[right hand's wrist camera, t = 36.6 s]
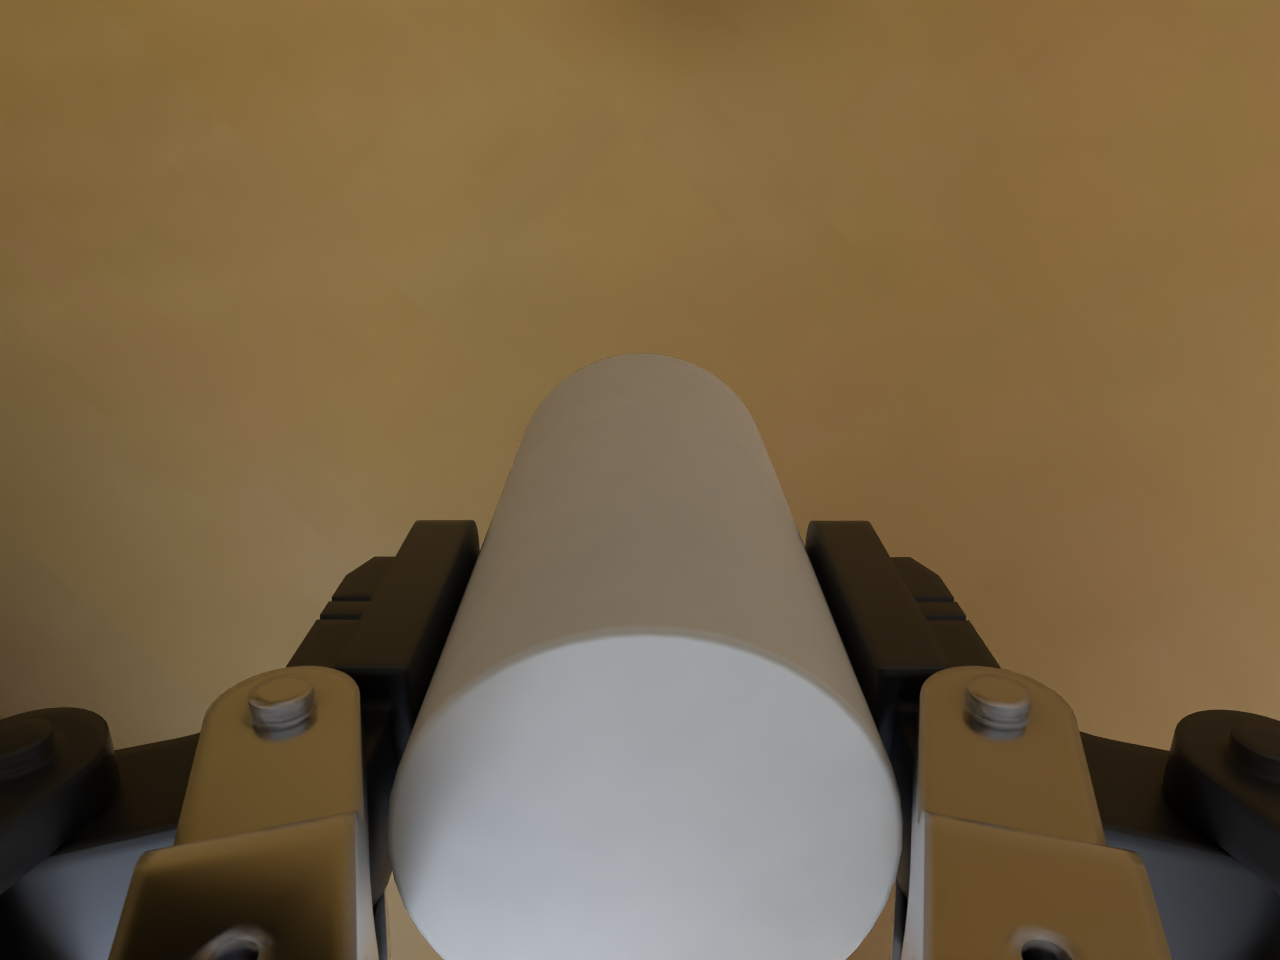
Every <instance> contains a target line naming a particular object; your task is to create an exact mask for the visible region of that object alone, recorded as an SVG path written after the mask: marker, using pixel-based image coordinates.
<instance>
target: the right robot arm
mask: <svg viewBox="0 0 1280 960" xmlns="http://www.w3.org/2000/svg"><path fill="white" fill-rule="evenodd" d="M805 549H806V551H807V554H808V556H809V559H810V561H811V564H812V566H813V569H814V572H815V574H816V577H817V579H818V582H819V584H820V587H821V589H822V592H823V594H824V597H825V599H826V602H827V604H828V607H829V609H830V612H831V614H832V617H833V619H834V622H835V624H836V627H837V629H838V632H839V634H840V637H841V639H842V642H843V644H844V647H845V649H846V652H847V655H848V657H849V660H850V662H851V665H852V667H853V670H854V672H855V675H856V677H857V680H858V682H859V685H860V687H861V690H862V692H863V695H864V697H865V700H866V702H867V705H868V707H869V710H870V712H871V715H872V717H873V720H874V722H875V725H876V727H877V730H878V733H879V735H880V738H881V740H882V743H883V745H884V748H885V750H886V753H887V755H888V758H889V760H890V763H891V765H892V768H893V771H894V775H895V778H896V781H897V785H898V788H899V792H900V797H901V805H902V813H903V843H902V852H901V856H900V861H899V866H898V871H897V876H896V883H895V891H894V899H893V906H892V916H891V935H890V954H889V960H1280V721H1278V720H1275V719H1271V718H1268V717H1265V716H1261V715H1256V714H1252V713H1247V712H1240V711H1232V710H1207V711H1200V712H1196V713H1193V714H1190V715H1188V716H1186V717H1184V718H1183V719H1182V720H1181V721H1180V722H1179V723H1178V724H1177V727H1176V729H1175V733H1174V737H1173V740H1172V744H1171V748H1170V751H1167V750H1161V749H1156V748H1151V747H1146V746H1141V745H1136V744H1131V743H1125V742H1120V741H1115V740H1110V739H1106V738H1101V737H1097V736H1093V735H1090V734H1087V733H1083V732H1080V731H1079V728H1078V724H1077V720H1076V717H1075V714H1074V712H1073V710H1072V709H1071V707H1070V706H1069V704H1068V703H1067V702H1066V701H1065V700H1064V699H1063V698H1062V697H1061V696H1060V695H1058V694H1057V693H1056V692H1054V691H1053V690H1052V689H1050V688H1048V687H1047V686H1045V685H1043V684H1042V683H1040V682H1038V681H1036V680H1033V679H1031V678H1029V677H1026V676H1024V675H1021V674H1018V673H1015V672H1011V671H1008V670H1004V669H1001V668H1000V666H999V665H998V663H997V662H996V660H995V659H994V657H993V656H992V654H991V653H990V651H989V650H988V648H987V647H986V645H985V644H984V642H983V641H982V639H981V638H980V636H979V635H978V633H977V632H976V630H975V629H974V627H973V626H972V624H971V623H970V621H969V620H966V615H965V614H964V612H963V611H962V609H961V608H960V606H959V605H958V603H957V602H954V597H953V596H952V594H951V593H950V591H949V590H948V588H947V587H946V585H945V584H944V582H943V581H942V579H941V578H940V576H938V575H937V574H935V573H934V572H932V571H931V570H929V569H928V568H926V567H925V566H923V565H922V564H920V563H918V562H917V561H915V560H914V559H912V558H911V557H890V556H889V555H888V553H887V551H886V549H885V548H884V546H883V544H882V543H881V541H880V539H879V537H878V536H877V534H876V532H875V531H874V529H873V527H872V525H871V524H870V522H868V521H811V522H810V523H809V526H808V530H807V535H806V545H805ZM479 553H480V550H479V537H478V531H477V526H476V523H475V521H474V520H417V521H416V522H415V523H414V525H413V527H412V528H411V530H410V532H409V534H408V535H407V537H406V539H405V541H404V542H403V544H402V546H401V548H400V549H399V551H398V553H397V555H396V556H395V557H373V558H372V559H370V560H369V561H367V562H366V563H364V564H363V565H361V566H360V567H358V568H357V569H355V570H354V571H352V572H350V573H349V574H347V575H346V576H345V578H344V579H343V581H342V582H341V584H340V585H339V587H338V588H337V590H336V591H335V593H334V594H333V596H332V601H329V602H328V604H327V605H326V607H325V608H324V610H323V611H322V613H321V614H320V620H316V622H315V623H314V625H313V626H312V628H311V629H310V631H309V633H308V634H307V636H306V637H305V639H304V640H303V642H302V643H301V645H300V646H299V648H298V649H297V651H296V652H295V654H294V655H293V657H292V658H291V660H290V661H289V663H288V664H287V666H286V668H281V669H276V670H272V671H269V672H265V673H262V674H259V675H256V676H254V677H251V678H249V679H247V680H244V681H242V682H240V683H238V684H237V685H235V686H233V687H232V688H230V689H228V690H227V691H226V692H224V693H223V694H222V695H220V696H219V697H218V698H217V699H216V700H215V701H214V702H213V703H212V704H211V706H210V707H209V709H208V710H207V712H206V714H205V717H204V720H203V724H202V728H201V732H200V733H197V734H194V735H190V736H185V737H181V738H176V739H171V740H166V741H161V742H156V743H151V744H146V745H140V746H135V747H130V748H125V749H120V750H115V751H114V748H113V744H112V740H111V736H110V732H109V728H108V726H107V723H106V721H105V720H104V719H103V718H102V717H101V716H100V715H98V714H96V713H94V712H92V711H89V710H85V709H79V708H64V707H61V708H47V709H41V710H35V711H30V712H26V713H22V714H17V715H14V716H11V717H8V718H5V719H2V720H0V960H391V954H390V935H389V916H388V906H387V899H386V891H385V889H386V886H387V884H388V881H389V878H390V875H391V872H392V866H391V861H390V857H389V852H388V840H387V816H388V807H389V799H390V793H391V790H392V787H393V783H394V780H395V776H396V773H397V769H398V767H399V764H400V761H401V759H402V756H403V753H404V751H405V748H406V746H407V743H408V740H409V738H410V735H411V732H412V730H413V727H414V724H415V722H416V719H417V716H418V714H419V711H420V709H421V706H422V703H423V701H424V698H425V695H426V693H427V690H428V687H429V685H430V682H431V679H432V677H433V674H434V672H435V669H436V666H437V664H438V661H439V658H440V656H441V653H442V650H443V648H444V645H445V642H446V640H447V637H448V635H449V632H450V629H451V627H452V624H453V621H454V619H455V616H456V613H457V611H458V608H459V605H460V603H461V600H462V598H463V595H464V592H465V590H466V587H467V584H468V582H469V579H470V576H471V574H472V571H473V568H474V566H475V563H476V561H477V558H478V555H479Z"/></svg>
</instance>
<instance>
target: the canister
mask: <svg viewBox="0 0 1280 960" xmlns="http://www.w3.org/2000/svg"><path fill="white" fill-rule="evenodd" d="M387 840H388V852H389V857H390V861H391V866H392V870H393V875H394V880H395V883H396V885H397V888H398V890H399V893H400V896H401V898H402V901H403V903H404V906H405V907H406V909H407V911H408V913H409V914H410V916H411V918H412V920H413V921H414V923H415V925H416V927H417V928H418V930H419V931H420V932H421V934H422V935H423V936H424V937H425V939H426V940H427V941H428V943H429V944H430V945H431V946H432V948H433V949H434V950H435V951H436V952H437V953H438V954H439V955H440V956H441V957H442V958H443V959H444V960H845V959H846V958H847V957H848V956H849V955H850V954H851V953H852V952H853V951H854V950H855V949H856V948H857V947H858V946H859V945H860V943H861V942H862V941H863V939H864V938H865V937H866V935H867V934H868V933H869V932H870V930H871V929H872V928H873V926H874V924H875V923H876V921H877V919H878V917H879V916H880V914H881V912H882V910H883V908H884V907H885V905H886V903H887V900H888V898H889V895H890V893H891V890H892V887H893V885H894V882H895V879H896V876H897V871H898V866H899V861H900V856H901V852H902V843H903V813H902V805H901V797H900V792H899V788H898V785H897V781H896V778H895V775H894V771H893V768H892V765H891V763H890V760H889V758H888V755H887V753H886V750H885V748H884V745H883V743H882V740H881V738H880V735H879V733H878V730H877V727H876V725H875V722H874V720H873V717H872V715H871V712H870V710H869V707H868V705H867V702H866V700H865V697H864V695H863V692H862V690H861V687H860V685H859V682H858V680H857V677H856V675H855V672H854V670H853V667H852V665H851V662H850V660H849V657H848V655H847V652H846V649H845V647H844V644H843V642H842V639H841V637H840V634H839V632H838V629H837V627H836V624H835V622H834V619H833V617H832V614H831V612H830V609H829V607H828V604H827V602H826V599H825V597H824V594H823V592H822V589H821V587H820V584H819V582H818V579H817V577H816V574H815V572H814V569H813V566H812V564H811V561H810V559H809V556H808V554H807V551H806V549H805V546H804V544H803V541H802V539H801V536H800V534H799V531H798V529H797V526H796V524H795V521H794V519H793V516H792V514H791V511H790V509H789V506H788V504H787V501H786V499H785V496H784V494H783V491H782V488H781V486H780V483H779V481H778V478H777V476H776V473H775V471H774V468H773V466H772V463H771V461H770V458H769V456H768V453H767V451H766V448H765V446H764V443H763V441H762V438H761V436H760V433H759V431H758V428H757V426H756V424H755V422H754V420H753V418H752V416H751V414H750V412H749V411H748V409H747V408H746V406H745V405H744V403H743V402H742V401H741V400H740V398H739V397H738V396H737V395H736V394H735V393H734V392H733V390H732V389H731V388H729V387H728V386H727V385H726V384H725V383H724V382H722V381H721V380H720V379H719V378H717V377H716V376H714V375H713V374H711V373H710V372H708V371H707V370H705V369H703V368H701V367H699V366H697V365H694V364H692V363H690V362H687V361H684V360H681V359H678V358H675V357H669V356H664V355H659V354H643V353H640V354H626V355H620V356H615V357H610V358H606V359H603V360H600V361H597V362H594V363H592V364H590V365H588V366H586V367H584V368H582V369H580V370H578V371H576V372H574V373H573V374H572V375H570V376H569V377H567V378H566V379H564V380H563V381H562V382H561V383H559V384H558V385H557V386H556V387H555V388H554V389H553V390H552V391H551V392H550V393H549V394H548V395H547V396H546V397H545V399H544V400H543V401H542V402H541V403H540V405H539V407H538V408H537V410H536V411H535V413H534V414H533V416H532V418H531V420H530V422H529V424H528V427H527V429H526V431H525V434H524V436H523V439H522V442H521V444H520V447H519V449H518V452H517V455H516V457H515V460H514V463H513V465H512V468H511V471H510V473H509V476H508V479H507V481H506V484H505V486H504V489H503V492H502V494H501V497H500V500H499V502H498V505H497V508H496V510H495V513H494V516H493V518H492V521H491V523H490V526H489V529H488V531H487V534H486V537H485V539H484V542H483V545H482V547H481V550H480V553H479V555H478V558H477V561H476V563H475V566H474V568H473V571H472V574H471V576H470V579H469V582H468V584H467V587H466V590H465V592H464V595H463V598H462V600H461V603H460V605H459V608H458V611H457V613H456V616H455V619H454V621H453V624H452V627H451V629H450V632H449V635H448V637H447V640H446V642H445V645H444V648H443V650H442V653H441V656H440V658H439V661H438V664H437V666H436V669H435V672H434V674H433V677H432V679H431V682H430V685H429V687H428V690H427V693H426V695H425V698H424V701H423V703H422V706H421V709H420V711H419V714H418V716H417V719H416V722H415V724H414V727H413V730H412V732H411V735H410V738H409V740H408V743H407V746H406V748H405V751H404V753H403V756H402V759H401V761H400V764H399V767H398V769H397V773H396V776H395V780H394V783H393V787H392V790H391V793H390V799H389V807H388V816H387Z"/></svg>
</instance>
